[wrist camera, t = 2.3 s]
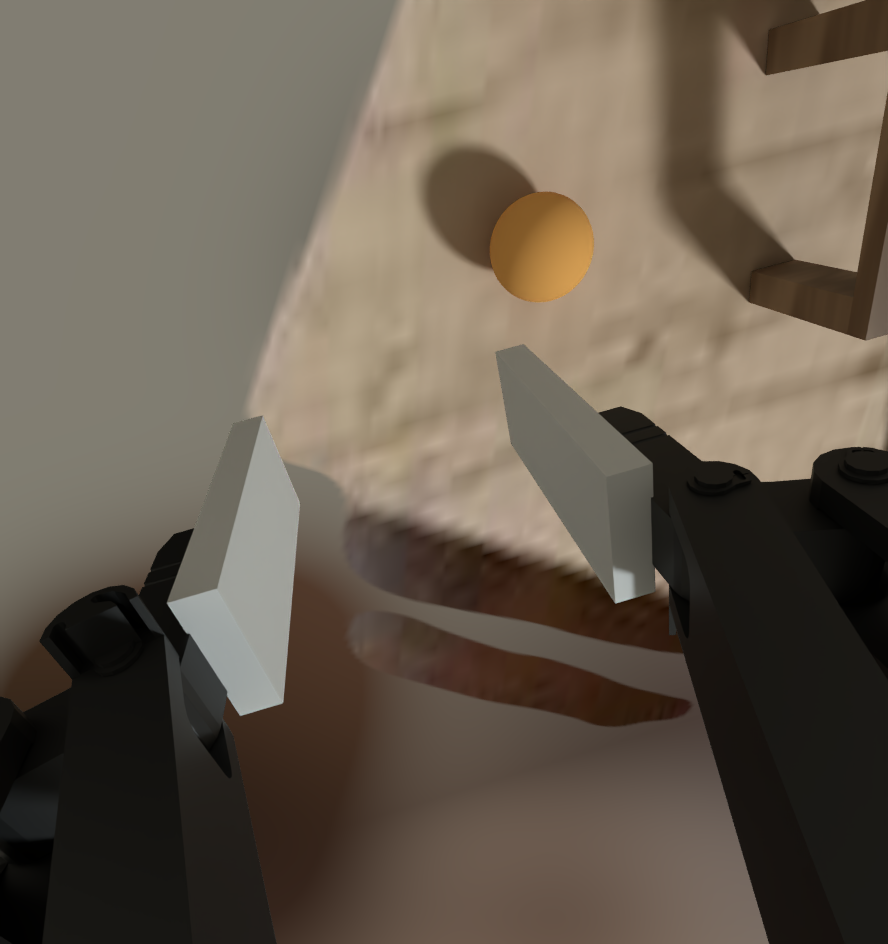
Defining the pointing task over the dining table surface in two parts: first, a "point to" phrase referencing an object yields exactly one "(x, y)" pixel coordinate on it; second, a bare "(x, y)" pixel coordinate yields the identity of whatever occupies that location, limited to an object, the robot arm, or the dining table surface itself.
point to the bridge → (884, 242)
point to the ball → (541, 247)
